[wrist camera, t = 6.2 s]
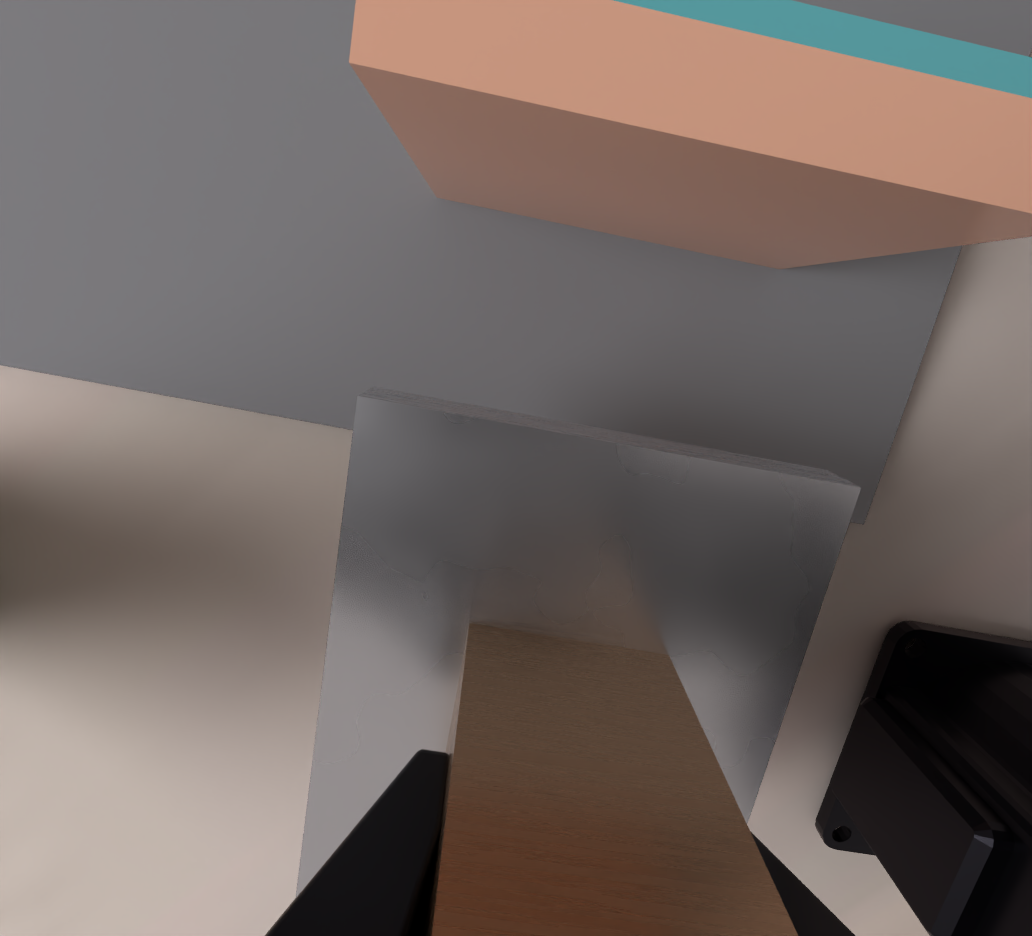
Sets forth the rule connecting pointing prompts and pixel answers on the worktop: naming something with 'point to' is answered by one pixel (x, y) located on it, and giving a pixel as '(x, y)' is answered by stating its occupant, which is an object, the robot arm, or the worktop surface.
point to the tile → (708, 122)
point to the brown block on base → (569, 663)
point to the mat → (403, 251)
